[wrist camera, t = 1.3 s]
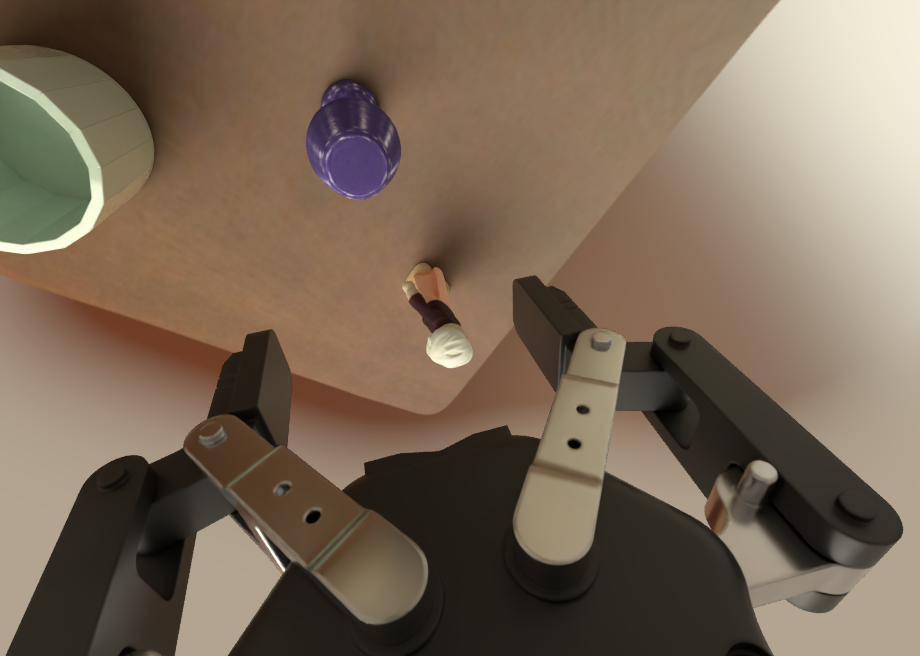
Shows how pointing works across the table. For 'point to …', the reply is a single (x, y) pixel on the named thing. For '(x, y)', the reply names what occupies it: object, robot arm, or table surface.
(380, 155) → the toy lamp
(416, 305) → the grandmother figurine
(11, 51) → the glazed cup
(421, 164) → the table surface
